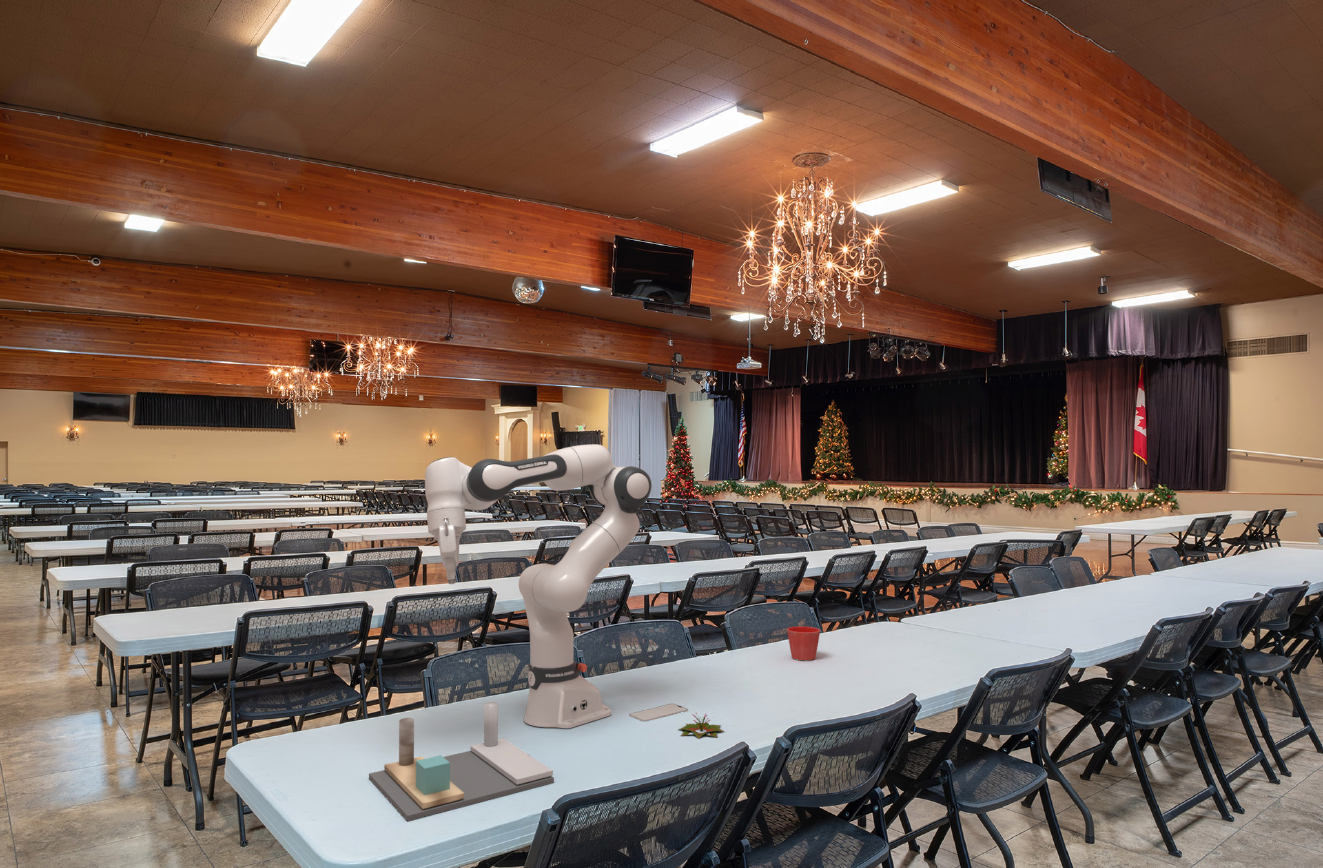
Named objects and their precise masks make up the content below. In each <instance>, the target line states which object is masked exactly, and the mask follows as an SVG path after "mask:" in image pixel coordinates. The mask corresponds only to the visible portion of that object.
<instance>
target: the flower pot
mask: <svg viewBox="0 0 1323 868" xmlns="http://www.w3.org/2000/svg"><path fill="white" fill-rule="evenodd" d="M786 632H787V638H788V645H789V650H790V654H791V658H792V660H795V659H798V660H797V661H800V660H805V661H804V662H807V661H806V660H811V661H814V660H815V659H816V658H817V657H816V656H817V652H818V647H819V641H820V634H821V630H820V629H819V628H817V627H813V626H812V627H811V626H791V627H788V628H787V629H786ZM813 659H814V660H813Z"/></svg>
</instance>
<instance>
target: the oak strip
mask: <svg viewBox="0 0 1323 868" xmlns="http://www.w3.org/2000/svg"><path fill="white" fill-rule="evenodd" d="M398 732H399V733H398V761H396V762H395V761H394V762H391V763H385V764H383V765H384V766H383V767H384V768H383V770H385V771H386V772H387V773H388V774H389V775H390V776H391V777H392V778H393V779H394V780H395V781H396V782H397V783H398V784H399V785H400V786H401V787H402V788H403V789H404V790H405V791H406V792H407V793H408V794H409V795H410V796H411V797H412V798H413V799H414V800H415V802H416V803H417V804H418V805H419V806H420V807H421V808H422V809H425V808H429V807H433V806H437V805H440V804H444V803H448V802H452V801H456V800H460V799H464V793H463V792H462V791H461V790H460V789H459V788H458V787H457V786H455V785H454V784H453V783H452V782H451V781H450V789H448V790H444V791H440V792H436V793H432V794H428V795H424V794H423V793H422V792H421V791H420V790H419V789H417V788H416V761H417V760H422V759H425V757H424V756H417V757H415V718H413V717H403V718H401V719H399V721H398Z"/></svg>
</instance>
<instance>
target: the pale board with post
mask: <svg viewBox="0 0 1323 868" xmlns="http://www.w3.org/2000/svg"><path fill="white" fill-rule="evenodd" d="M483 708H484V709H483V718H484V719H483V742H482V743H481V742H480V743H476V744H472V745H470V751H472V752H473V753H475V754H476V755H478V756H479V757H480V758H482V759H483V760H484V761H486V762H487V763H488V764H490V765H491V766H492V767H494V768H495V769H496V770H498V771H499V772H500V773H502V774H503V775H504V776H506V777H507V778H509V779H510V780H511V781H513V782H514V783H515V784H517V785H518V784H522V783H526V782H529V781H533V780H537V779H541V778H545V777H549V776H552V777H553V776H554V774H553V773H554V772H553V771H554V770H553V769H551V768H550V767H548V766H546V765H545V764H543V763H542V762H540V761H539V760H537V759H536V758H535V757H533V756H531V755H530V754H529V753H526V752H525V751H524V750H522V749H521V748H519V747H517V746H516V745H514V744H513V743H511V742H510V741H509V740H507V739H505V738H500V739H498V737H499V735H498V734H499V731H498V730H499V729H498V726H499V723H498V722H499V721H498V719H499V717H498V716H499V714H498V713H499V712H498V710H499V705H498V702H496V701H489V702H485V703H484V704H483Z"/></svg>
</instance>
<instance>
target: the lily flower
mask: <svg viewBox="0 0 1323 868" xmlns="http://www.w3.org/2000/svg"><path fill="white" fill-rule="evenodd" d="M695 714H696V715H698V713H697V712H695ZM695 714H691V715H692V716H693V717H694V718H695V719H696V720H697V721H698V722H697V721H696V720H695V719H693V722H694V723H685V726H683V727H681V728H679V729H677V730H679V731H680V730H681V731H683V730H684V731H683V732H682V733H681V735H680V737H682V736H696V737H697V739H698V740H699V739H700V738H701V737H702V736H708V737H714V738H718V733H717V732H723V733H724V732H726V731H725V730H724V729H722V728H720V727H721V726H722V725H721V724H709V722H710V721H711V719H709V717H708V714H707V713H705V714H704V715H703V717H702V716H700V717H699V716H696V715H695ZM706 717H707V718H706ZM705 719H706V720H705ZM698 731H700V732H698ZM690 733H691V734H690ZM707 733H709V734H707Z"/></svg>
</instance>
